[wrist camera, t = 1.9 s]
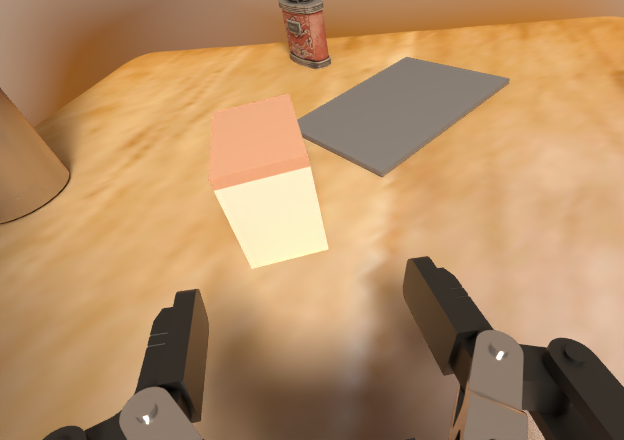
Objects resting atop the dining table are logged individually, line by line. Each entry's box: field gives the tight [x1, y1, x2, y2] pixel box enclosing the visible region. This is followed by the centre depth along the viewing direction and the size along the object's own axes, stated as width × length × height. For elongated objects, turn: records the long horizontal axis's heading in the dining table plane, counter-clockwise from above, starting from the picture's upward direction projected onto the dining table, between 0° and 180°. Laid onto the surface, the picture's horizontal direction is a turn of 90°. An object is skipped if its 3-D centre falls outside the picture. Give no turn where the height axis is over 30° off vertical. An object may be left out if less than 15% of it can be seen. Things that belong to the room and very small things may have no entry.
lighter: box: [279, 0, 331, 69], centre depth 46 cm, size 8×3×10 cm, turn 35°
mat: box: [297, 57, 509, 177], centre depth 36 cm, size 13×19×1 cm
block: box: [208, 93, 328, 269], centre depth 24 cm, size 8×6×8 cm
